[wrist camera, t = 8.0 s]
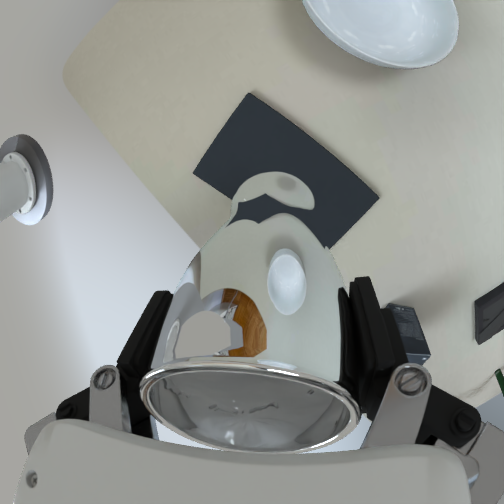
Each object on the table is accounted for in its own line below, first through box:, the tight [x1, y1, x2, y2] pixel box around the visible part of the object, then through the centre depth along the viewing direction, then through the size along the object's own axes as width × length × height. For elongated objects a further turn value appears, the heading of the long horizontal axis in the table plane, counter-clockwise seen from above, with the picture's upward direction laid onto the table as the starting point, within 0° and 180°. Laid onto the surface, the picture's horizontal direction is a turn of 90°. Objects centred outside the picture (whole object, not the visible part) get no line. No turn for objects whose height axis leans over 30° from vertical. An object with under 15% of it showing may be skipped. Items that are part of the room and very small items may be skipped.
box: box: [386, 303, 431, 365], centre depth 38 cm, size 8×6×11 cm
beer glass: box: [138, 171, 362, 454], centre depth 13 cm, size 7×7×15 cm
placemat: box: [193, 93, 379, 249], centre depth 32 cm, size 20×12×1 cm, turn 55°
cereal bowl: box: [302, 0, 459, 69], centre depth 17 cm, size 17×17×7 cm
